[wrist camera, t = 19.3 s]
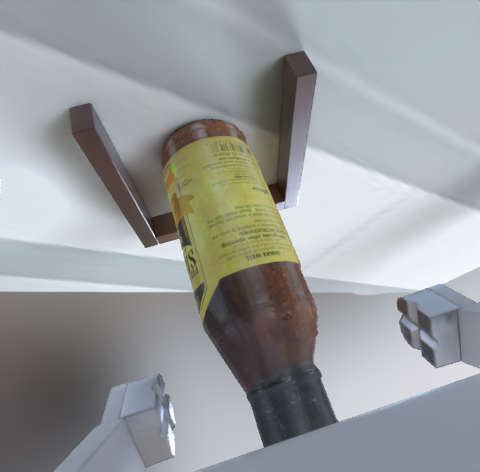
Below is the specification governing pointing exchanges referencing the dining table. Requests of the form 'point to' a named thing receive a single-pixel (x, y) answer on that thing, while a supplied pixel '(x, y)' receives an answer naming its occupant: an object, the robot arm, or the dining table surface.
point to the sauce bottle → (246, 277)
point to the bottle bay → (163, 227)
